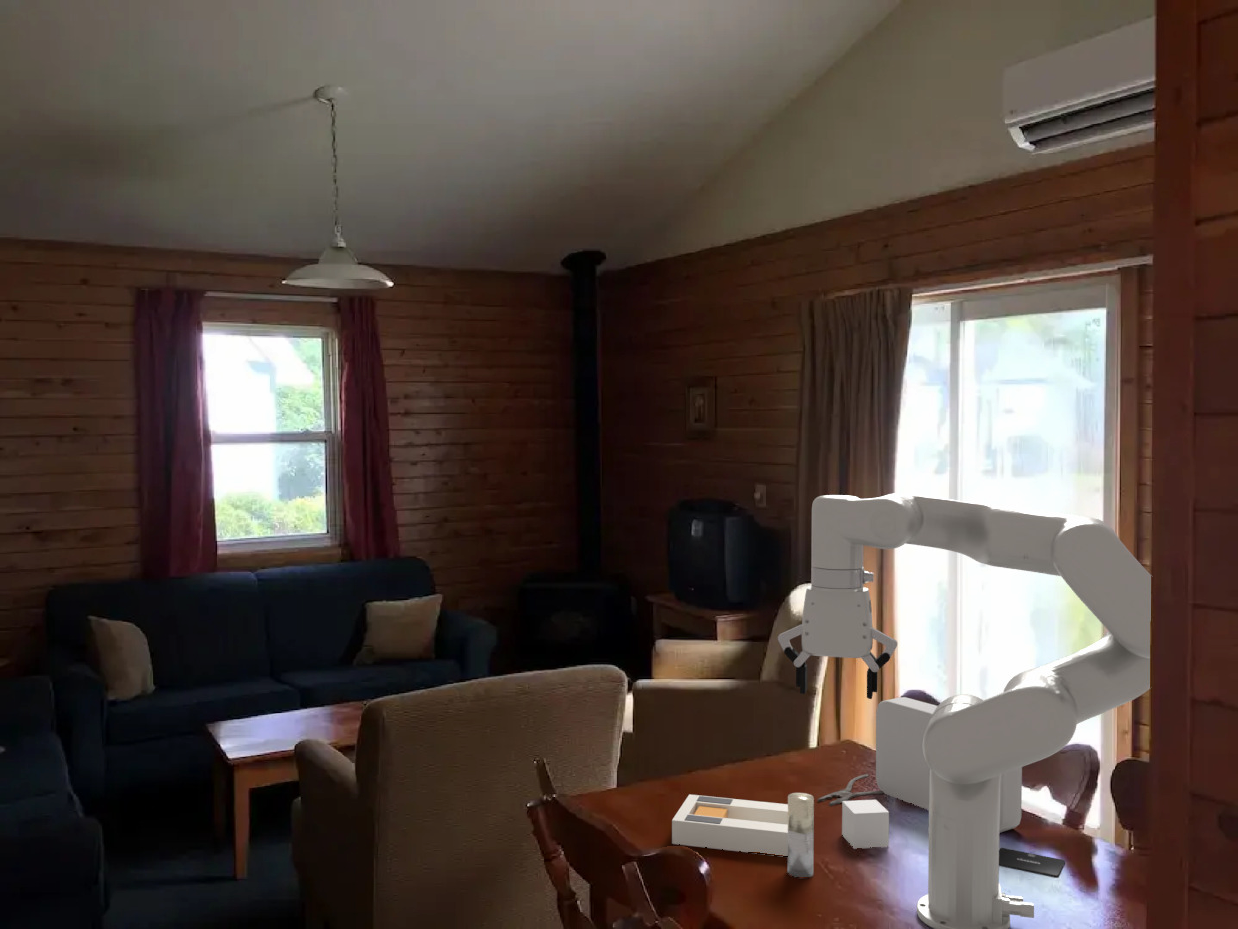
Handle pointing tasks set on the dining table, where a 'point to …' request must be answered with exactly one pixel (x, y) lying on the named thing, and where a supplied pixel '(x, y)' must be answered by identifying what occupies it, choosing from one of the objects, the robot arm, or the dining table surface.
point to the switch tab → (712, 812)
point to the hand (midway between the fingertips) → (836, 694)
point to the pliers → (847, 793)
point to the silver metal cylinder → (800, 834)
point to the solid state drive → (1030, 862)
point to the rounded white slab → (907, 767)
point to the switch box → (733, 825)
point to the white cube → (865, 823)
